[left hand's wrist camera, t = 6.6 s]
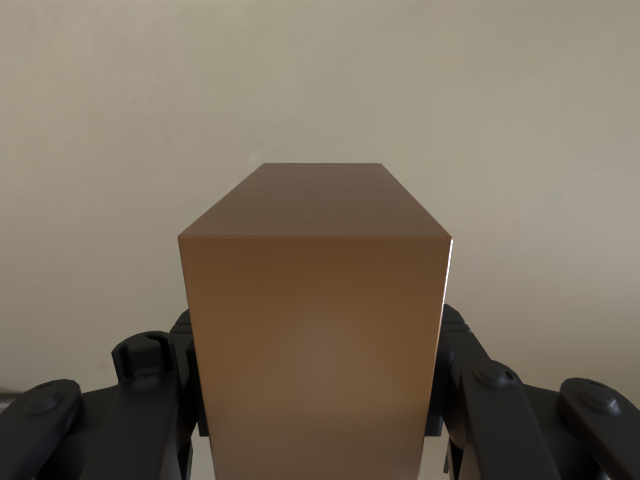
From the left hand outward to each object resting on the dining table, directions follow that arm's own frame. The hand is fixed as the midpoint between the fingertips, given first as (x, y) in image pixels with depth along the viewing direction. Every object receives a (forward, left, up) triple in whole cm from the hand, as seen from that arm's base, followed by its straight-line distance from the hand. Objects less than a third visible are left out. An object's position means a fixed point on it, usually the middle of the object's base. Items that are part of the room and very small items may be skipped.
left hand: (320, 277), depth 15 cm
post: (-3, -30, -1) cm, 30 cm away
